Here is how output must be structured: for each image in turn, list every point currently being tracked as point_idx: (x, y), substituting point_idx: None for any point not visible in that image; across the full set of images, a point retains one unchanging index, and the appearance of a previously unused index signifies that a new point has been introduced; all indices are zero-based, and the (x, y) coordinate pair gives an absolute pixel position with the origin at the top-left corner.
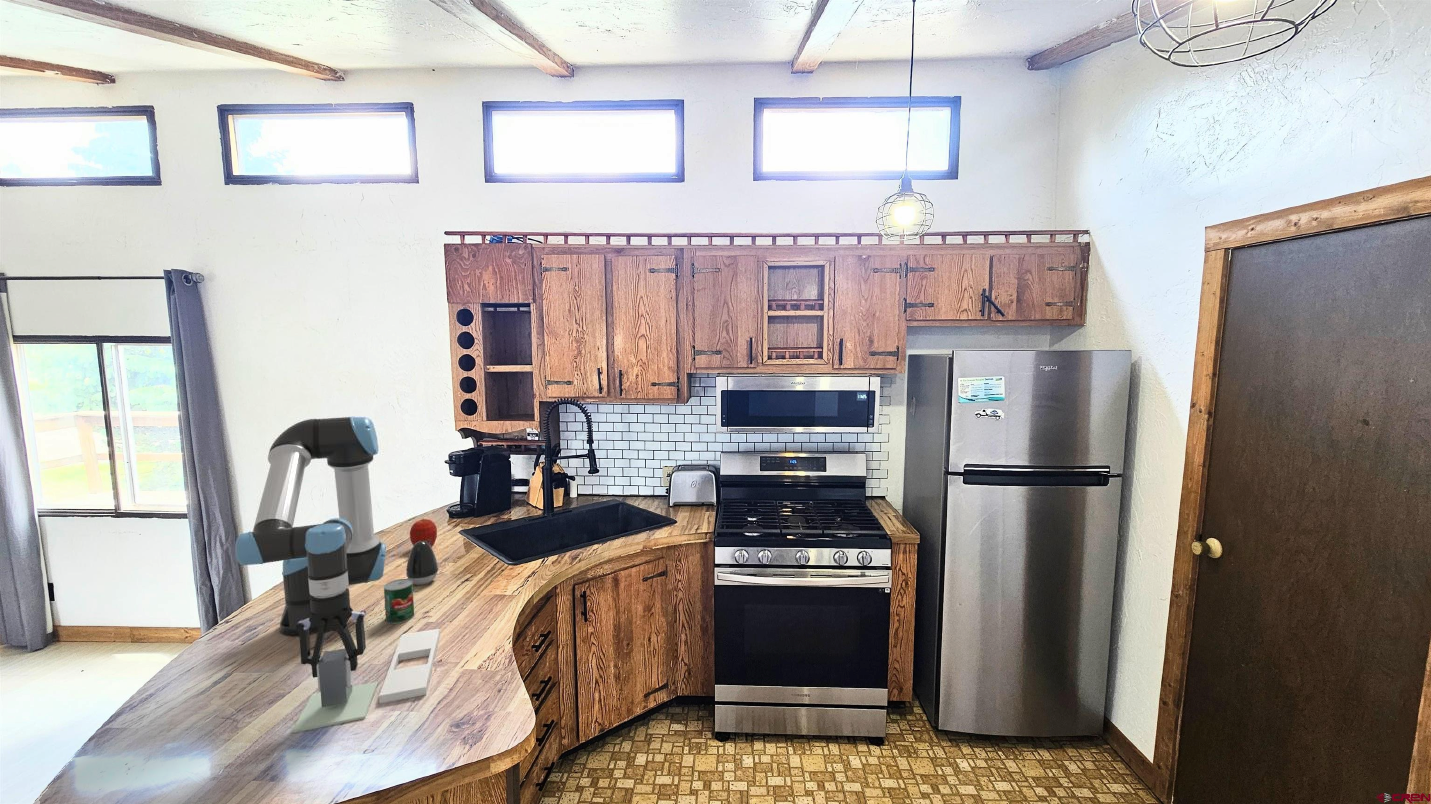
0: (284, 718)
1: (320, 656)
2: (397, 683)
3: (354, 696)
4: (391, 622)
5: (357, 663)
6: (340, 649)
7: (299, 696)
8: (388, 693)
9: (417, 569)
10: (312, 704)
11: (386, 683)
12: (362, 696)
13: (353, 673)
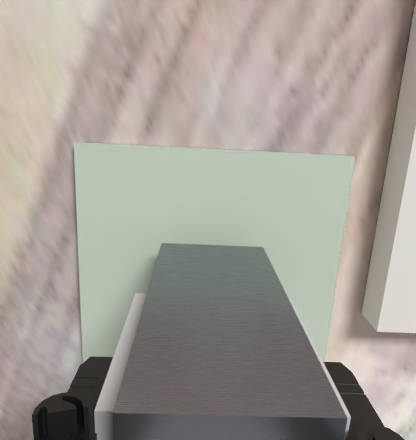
0: (20, 276)
1: (86, 415)
2: None
3: (265, 244)
4: None
5: (357, 388)
6: (264, 428)
7: (15, 119)
8: (413, 330)
9: None
10: (103, 239)
11: (406, 244)
12: (298, 258)
13: (301, 320)
